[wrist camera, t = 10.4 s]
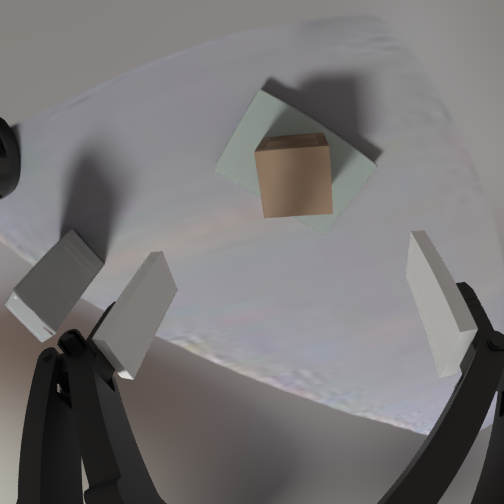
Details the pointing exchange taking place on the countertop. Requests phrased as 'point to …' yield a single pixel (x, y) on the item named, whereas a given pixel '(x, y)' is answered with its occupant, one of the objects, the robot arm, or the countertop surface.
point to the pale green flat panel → (292, 123)
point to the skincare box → (54, 286)
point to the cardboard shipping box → (294, 175)
